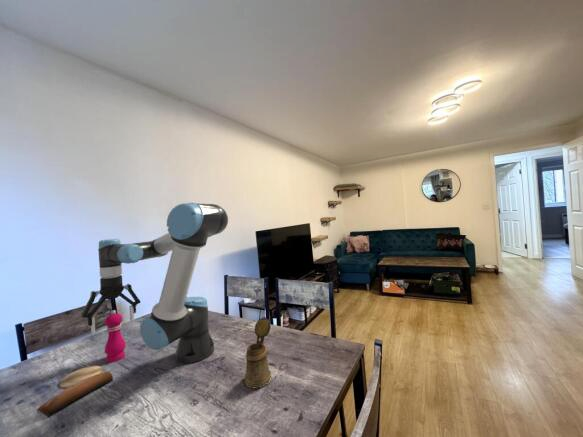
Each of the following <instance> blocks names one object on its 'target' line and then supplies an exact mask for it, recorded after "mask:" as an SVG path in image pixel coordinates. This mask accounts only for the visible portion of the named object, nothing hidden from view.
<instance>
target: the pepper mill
mask: <svg viewBox="0 0 583 437" xmlns="http://www.w3.org/2000/svg"><path fill="white" fill-rule="evenodd" d="M122 322H123V315H122V314H121V313H118V312H117V311H116V310H115V309H113V310H111V312H110V314H109V315H108V316H106V318H105V319H104V324H105V326H106V332H107V333H108V337H107V341H106V344H105V347H104V354H106V361H107V363H114V362H117V361H120V360H122V359H124V358H125V357H126V353H125V352H126V351H125V348H126V346H127V345H126V340H125V339H124V337H123V336H122V332H121V329H122V327H123V326H122Z"/></svg>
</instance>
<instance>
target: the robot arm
mask: <svg viewBox="0 0 583 437" xmlns="http://www.w3.org/2000/svg"><path fill="white" fill-rule="evenodd" d="M228 223H229V217H228V213H227V211H226V210H225V209H224V208H223V207H222V206H220V205H218V204H215V203H196V202H187V203H179V204H178V205H176V206H174V207H173V208H172V209H171V210H170V212H169V213H168V215H167V220H166V227H167V233H166V234H163V235H161V236H160V237H157V238H154V239H153V240H149V241H141V242H132V243H123V244H122V243H121V240H120V239H119V238H110V239H102V240H99V242H98V250H97V251H98V263H99V264H98V265H99V277H100V279H99V282H100V283H99V285H100V287H99V289H100V290H97V291H96V290H95V291H94V290H92V291H91V292H90V295H89V296H90V297H89V299H88V301H87V302H86V305H85V306H84V308H83V310H82V312H81V314H80V316H81V317H82V318H83V319H85V318H87V325H88V326H90V327H91V328H90V330H91V333H92V335H95V334H96V320H95V316H94V315H95V314H96V312H97V311H98V310H99V309H100V308H101V306H102V305H103V304H104V302H105V301H106V300H113V299H117V298H119V297H120V298H122V299H123V300H124V301H126V302H127V303H128V304H130V305H129V309H128V310H129V321H130V322H131V323H134V322H135V314H136V313H137V305H139V304H141V300H140V299H139V297H138V296H137V295H136V293H135V291H134V290H133V287H132V284H130V283H127V284H124V285H123V276H122V274H123V268H122V265H123V264H128V265H129V264H135V263H138V262H139V261H144V260H149V259H155V258H161V257H164V256H165V257H166V256H167V255H168V253H169V252H171V254H170V259H169V262H168V266H167V270H166V274H165V278H164V281H163V286H162V289H161V293H160V297H159V301H158V302H157V303H155V305H153V307H152V309H151V314H150V316H149V317H146V318H144V319H143V320H142V321H141V322H140V326H139V333H140V337H141V339H142V341H143V343H144V344H145V345H146V346H147V348H150V349H151V350H155V351H157V350H160V349H163V348H166V347H168V346H169V345H170V344H171V345H172V343H175V341H177V340H178V342H177V344H176V345H177V346H176V349H175V360H176V361H177V362H179V363H182V364H190V363H196V362H199V361H202V360H206V359H207V358H208V357H210V356H211V355H212V354H213V353H214V352H215V343H214V340H213V338H212V336H211V333H210V327H209V326H210V325H209V324H210V322H209V306H208V299H207V298H206V297H203V296H188V293H189V290H190V285H191V282H192V278H193V275H194V272H195V268H196V263H197V261H198V257H199V254H200V250H201V249H202V248H203V247H205V246H206V245H207V241H208V239H209V238H210V237H212V236H215V235H219V234H221V233H222V232H224V231H225V229H226V228H227V227H228ZM124 290H126V291H128V293H129V294H130V296H131V297H132V299H133V300H134V301H133V300H132V299H130V298H129V297H128V296H126V295H125V294H124V293H123V291H124ZM99 295H101V296H100V298H99V300H98V301H97V302H96V303H95V304H94V301H95V300H96V298H97V297H98V296H99ZM187 296H188V297H187ZM93 304H94V306H93Z"/></svg>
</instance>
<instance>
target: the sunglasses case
mask: <svg viewBox="0 0 583 437" xmlns="http://www.w3.org/2000/svg"><path fill="white" fill-rule="evenodd" d="M113 379H114V377H113V374H112V373H111V372H110V371H103V372H101V373H100V374H96V375H94V376H91V377H89V378H87V379H85V380H83V381H81V382H79V383H77V384H74V385H72V386H71V387H69V388H64V390H62V391H61V392H60V393H59V394H57V395H55V396H53V397H52V398H51V399H49V400H47V401H46V402H44V403H43V404H41V405H40V406H39V407H38V408H37V410H36V411H37V412H40V413H42V414H43V415H45V416H46V417H47V418H50V416H52V415H54V414H55V413H57V412H59V411H60V410H62V409H63V408H65V407H67V406H68V405H69V404H72V403H73V402H75V401H76V400H78V399H79V398H82V397H83V396H84V397H85V395H87V394H88V393H91V392H92V391H94V390H96V389H98V388H100V387H101V386H103V385H105V384H107V383H109V382H111V381H113Z"/></svg>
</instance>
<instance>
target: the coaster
mask: <svg viewBox="0 0 583 437" xmlns="http://www.w3.org/2000/svg"><path fill="white" fill-rule="evenodd" d="M102 371H103V368H102V367H101V366H100V365H91V366H86V367H82V368H79V369H77V370H75V371H72V372H71V373H69V374H67V375H65V376H64V377H62V379H61V380H60V381H59V387H61V388H63V389H67V388H69V387H71V386H72V385H74V384H77V383H79V382H81V381H83V380H85V379H87V378H89V377H91V376H94V375H96V374H100V373H103V372H102Z"/></svg>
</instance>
